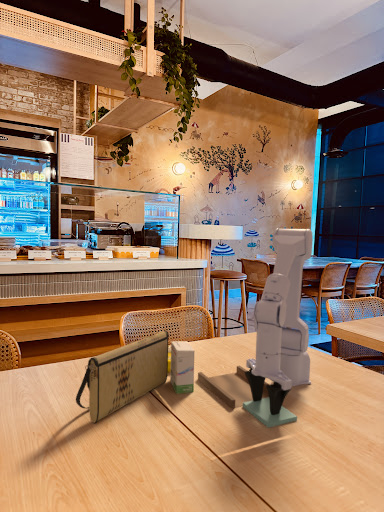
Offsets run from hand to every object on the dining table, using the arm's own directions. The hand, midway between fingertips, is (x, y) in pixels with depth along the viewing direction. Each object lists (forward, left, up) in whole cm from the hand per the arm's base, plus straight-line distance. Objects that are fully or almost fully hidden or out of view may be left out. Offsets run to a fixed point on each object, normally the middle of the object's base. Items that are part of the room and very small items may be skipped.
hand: (265, 406), depth 85 cm
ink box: (+13, -20, -2) cm, 24 cm away
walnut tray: (0, -12, -1) cm, 12 cm away
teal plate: (0, +1, -2) cm, 2 cm away
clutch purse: (+29, -20, -2) cm, 35 cm away
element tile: (+13, -39, -2) cm, 41 cm away
